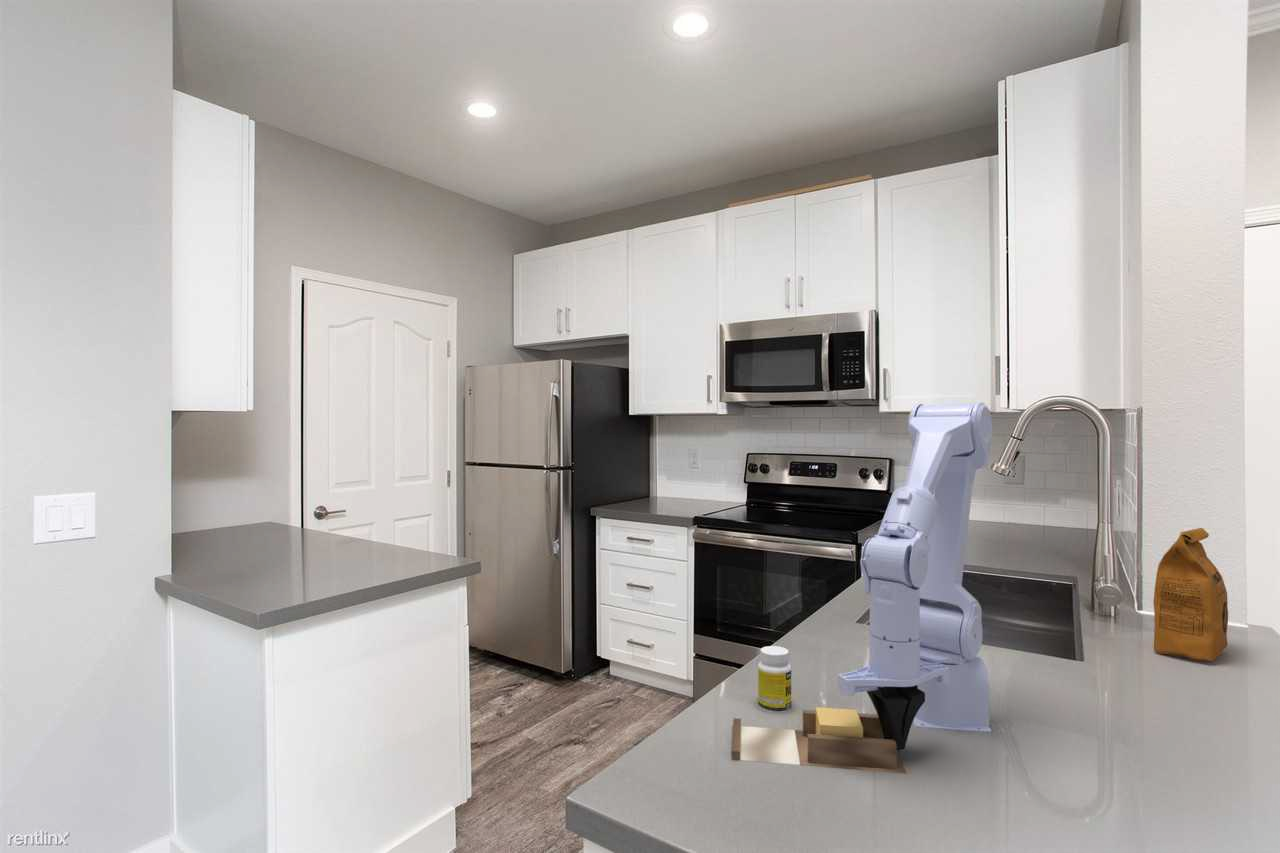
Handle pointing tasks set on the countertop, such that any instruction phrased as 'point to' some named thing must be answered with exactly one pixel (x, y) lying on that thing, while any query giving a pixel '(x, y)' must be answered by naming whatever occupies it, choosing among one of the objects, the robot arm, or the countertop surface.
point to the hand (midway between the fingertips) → (894, 746)
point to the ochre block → (838, 722)
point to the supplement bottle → (774, 680)
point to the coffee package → (1190, 601)
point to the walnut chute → (818, 746)
